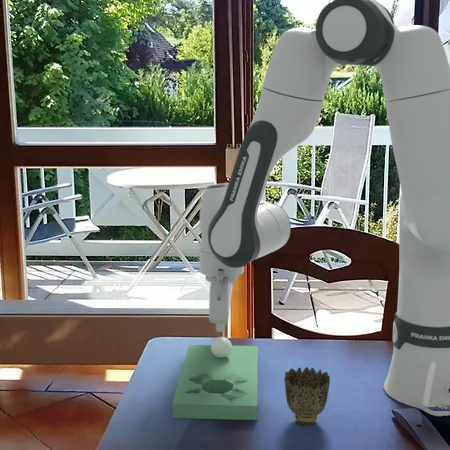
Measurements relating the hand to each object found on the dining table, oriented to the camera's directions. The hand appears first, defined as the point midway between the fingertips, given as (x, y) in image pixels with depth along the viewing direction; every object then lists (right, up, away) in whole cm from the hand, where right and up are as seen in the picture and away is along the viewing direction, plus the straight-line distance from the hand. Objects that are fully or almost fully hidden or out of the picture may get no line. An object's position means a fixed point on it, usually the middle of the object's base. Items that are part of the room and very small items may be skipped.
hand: (220, 329), depth 138 cm
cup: (+14, -11, -26) cm, 32 cm away
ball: (0, -2, -6) cm, 7 cm away
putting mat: (0, -8, -12) cm, 15 cm away
